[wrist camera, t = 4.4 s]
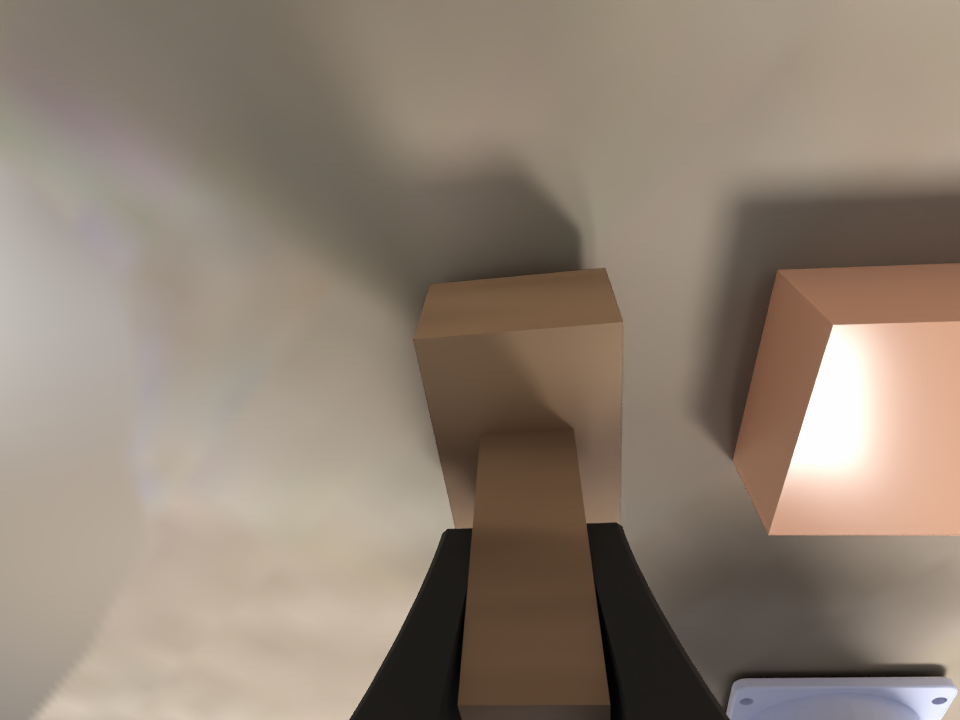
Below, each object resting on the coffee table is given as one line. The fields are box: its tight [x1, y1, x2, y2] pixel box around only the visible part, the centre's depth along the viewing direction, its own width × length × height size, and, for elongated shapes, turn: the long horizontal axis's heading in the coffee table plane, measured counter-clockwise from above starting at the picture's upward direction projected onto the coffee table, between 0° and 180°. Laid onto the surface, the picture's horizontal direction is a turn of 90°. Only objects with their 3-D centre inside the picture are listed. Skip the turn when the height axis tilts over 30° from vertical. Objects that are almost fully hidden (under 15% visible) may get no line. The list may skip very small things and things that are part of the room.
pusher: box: [413, 268, 623, 720], centre depth 11 cm, size 8×4×8 cm, turn 7°
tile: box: [733, 263, 960, 535], centre depth 13 cm, size 6×6×3 cm
